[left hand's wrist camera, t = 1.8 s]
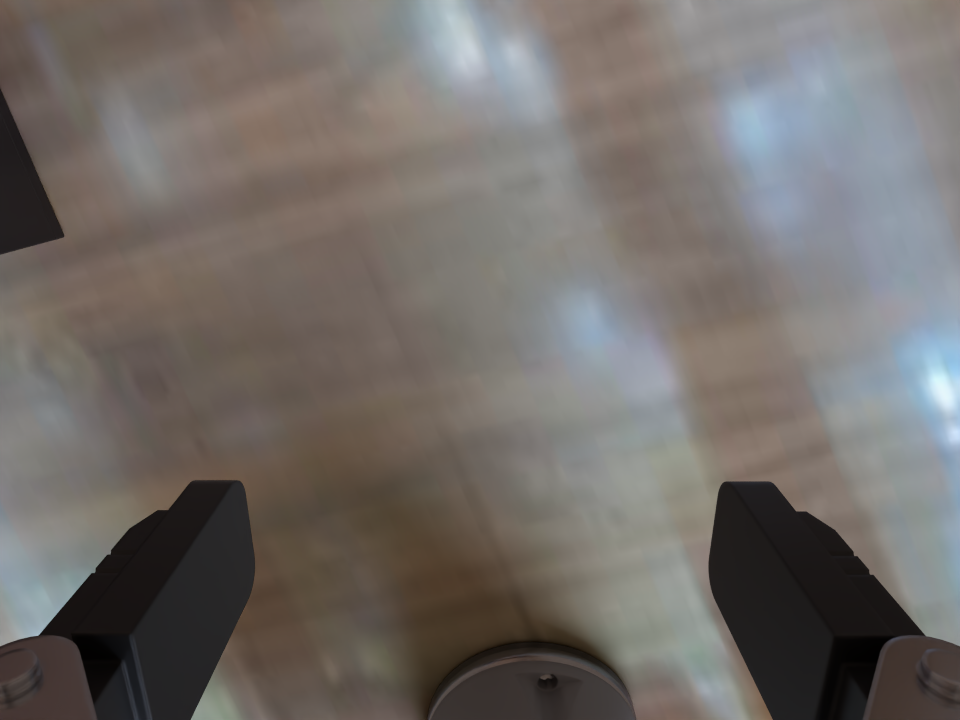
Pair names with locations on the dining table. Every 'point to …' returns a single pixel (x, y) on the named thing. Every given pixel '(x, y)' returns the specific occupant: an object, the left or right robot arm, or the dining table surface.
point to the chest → (21, 193)
